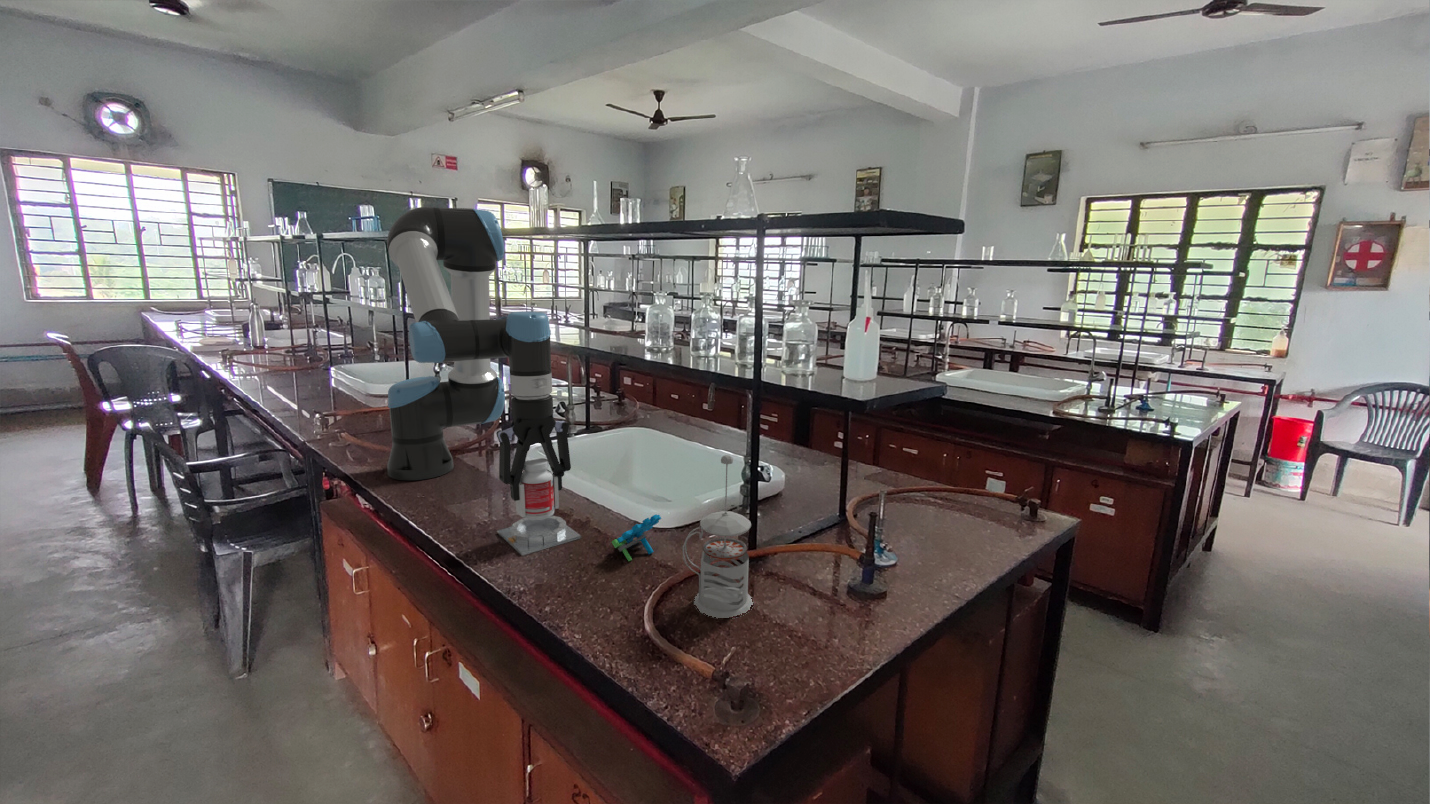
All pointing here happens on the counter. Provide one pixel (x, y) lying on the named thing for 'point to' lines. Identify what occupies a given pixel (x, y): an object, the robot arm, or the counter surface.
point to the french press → (723, 563)
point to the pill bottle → (538, 489)
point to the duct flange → (538, 534)
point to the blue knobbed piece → (636, 532)
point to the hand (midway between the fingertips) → (537, 510)
